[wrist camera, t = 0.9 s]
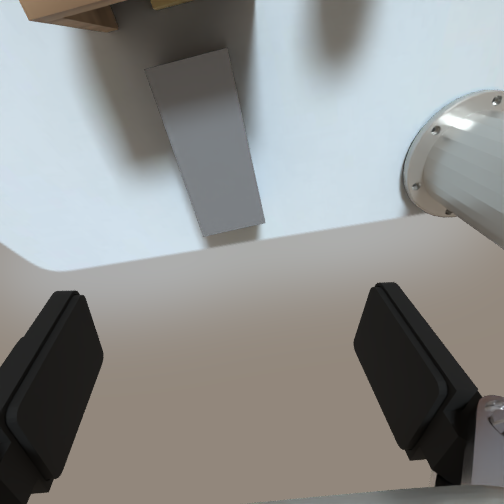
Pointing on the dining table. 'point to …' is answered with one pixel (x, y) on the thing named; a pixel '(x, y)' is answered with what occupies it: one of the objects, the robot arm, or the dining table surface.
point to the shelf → (82, 12)
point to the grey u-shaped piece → (209, 139)
